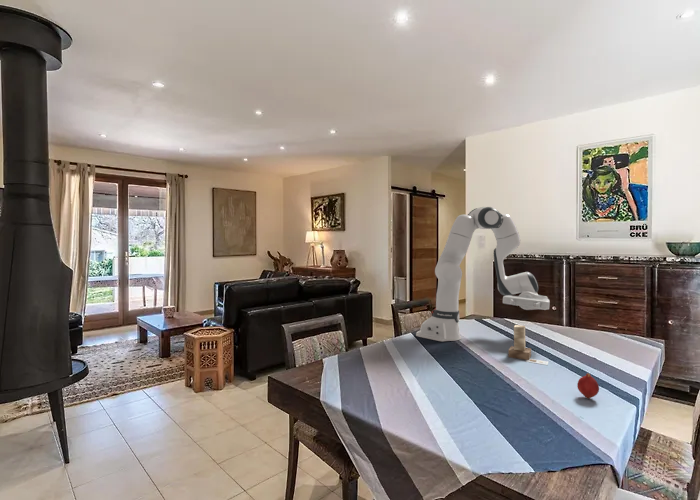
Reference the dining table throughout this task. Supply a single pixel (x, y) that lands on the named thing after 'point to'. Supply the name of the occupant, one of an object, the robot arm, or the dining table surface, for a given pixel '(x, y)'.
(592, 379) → the red rounded piece
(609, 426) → the dining table surface
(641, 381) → the dining table surface
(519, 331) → the pillar
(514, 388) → the dining table surface
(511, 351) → the plinth
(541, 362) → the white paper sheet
